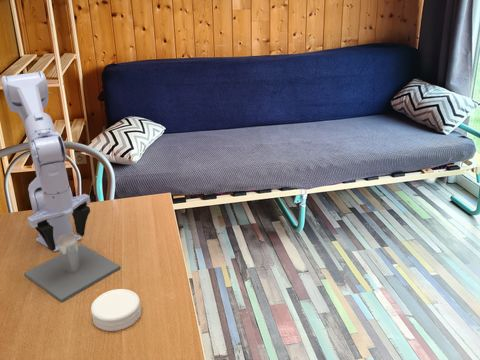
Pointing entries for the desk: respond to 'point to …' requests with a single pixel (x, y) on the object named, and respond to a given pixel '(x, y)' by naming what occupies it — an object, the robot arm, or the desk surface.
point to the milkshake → (69, 252)
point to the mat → (72, 274)
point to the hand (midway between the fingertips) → (66, 241)
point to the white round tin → (116, 310)
